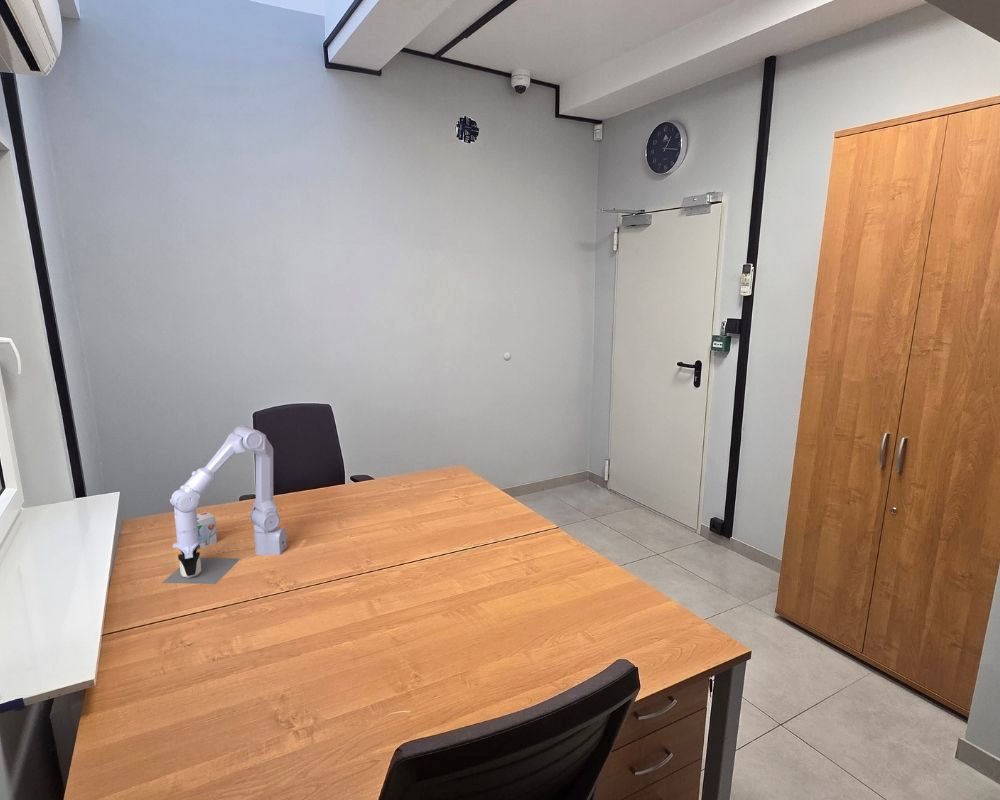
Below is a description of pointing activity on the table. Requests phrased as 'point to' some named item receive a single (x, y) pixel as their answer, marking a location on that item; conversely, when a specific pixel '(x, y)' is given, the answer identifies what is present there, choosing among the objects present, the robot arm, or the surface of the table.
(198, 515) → the light bulb box
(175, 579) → the base plate
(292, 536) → the table surface
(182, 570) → the cap
